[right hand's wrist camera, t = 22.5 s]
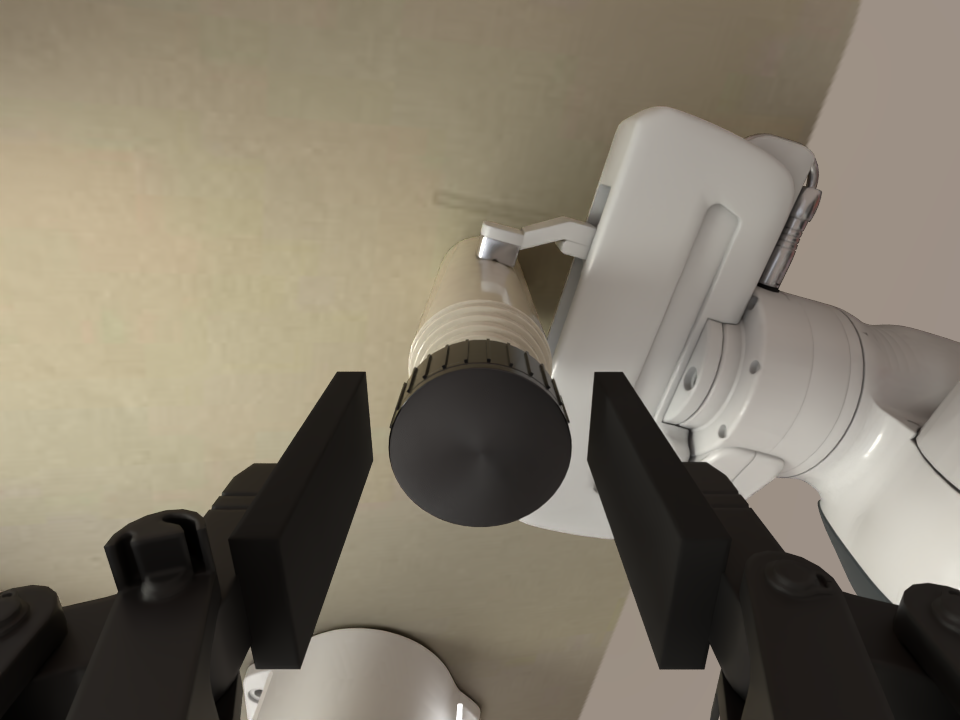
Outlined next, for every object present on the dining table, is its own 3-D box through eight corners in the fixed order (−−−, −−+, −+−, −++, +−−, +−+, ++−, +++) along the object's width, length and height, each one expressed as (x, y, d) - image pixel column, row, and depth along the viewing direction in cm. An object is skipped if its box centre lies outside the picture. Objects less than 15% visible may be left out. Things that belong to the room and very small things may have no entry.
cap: (439, 308, 14) (432, 333, 12) (592, 380, 14) (609, 414, 12) (373, 447, 15) (358, 488, 13) (515, 505, 16) (520, 553, 14)
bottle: (431, 243, 30) (365, 363, 13) (516, 230, 29) (566, 334, 12) (446, 324, 31) (406, 525, 14) (526, 312, 31) (582, 503, 14)
